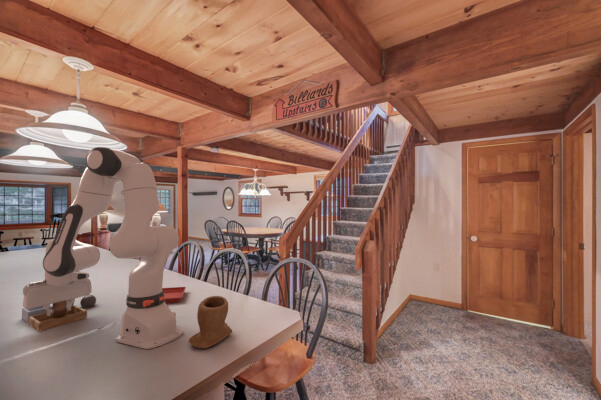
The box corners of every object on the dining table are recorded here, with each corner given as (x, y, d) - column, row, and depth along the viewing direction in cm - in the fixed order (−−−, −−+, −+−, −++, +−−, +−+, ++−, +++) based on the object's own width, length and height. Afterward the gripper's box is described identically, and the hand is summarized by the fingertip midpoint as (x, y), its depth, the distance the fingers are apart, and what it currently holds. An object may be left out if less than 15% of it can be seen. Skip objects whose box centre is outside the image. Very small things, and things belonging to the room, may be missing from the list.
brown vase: (208, 355, 83) (209, 307, 83) (183, 345, 89) (184, 300, 89) (241, 335, 96) (242, 294, 97) (217, 328, 102) (218, 289, 102)
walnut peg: (67, 315, 105) (68, 300, 105) (54, 319, 101) (54, 303, 102) (63, 313, 107) (63, 298, 107) (50, 317, 103) (50, 301, 104)
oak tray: (86, 319, 108) (87, 310, 108) (38, 333, 95) (39, 323, 96) (74, 313, 114) (75, 305, 114) (28, 326, 101) (28, 316, 101)
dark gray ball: (98, 307, 121) (98, 294, 121) (83, 311, 116) (83, 298, 116) (92, 304, 124) (93, 292, 124) (77, 308, 119) (78, 295, 119)
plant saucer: (185, 292, 145) (186, 286, 145) (182, 303, 128) (182, 296, 128) (148, 295, 139) (149, 288, 140) (139, 307, 122) (140, 300, 122)
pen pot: (52, 318, 108) (52, 306, 108) (27, 325, 102) (28, 312, 102) (45, 314, 112) (46, 302, 112) (21, 320, 106) (22, 308, 106)
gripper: (26, 285, 94) (25, 324, 94) (93, 273, 112) (93, 306, 111) (20, 282, 97) (19, 321, 97) (86, 271, 115) (86, 303, 114)
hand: (59, 313), depth 104 cm, fingers closed on walnut peg, 4 cm apart
